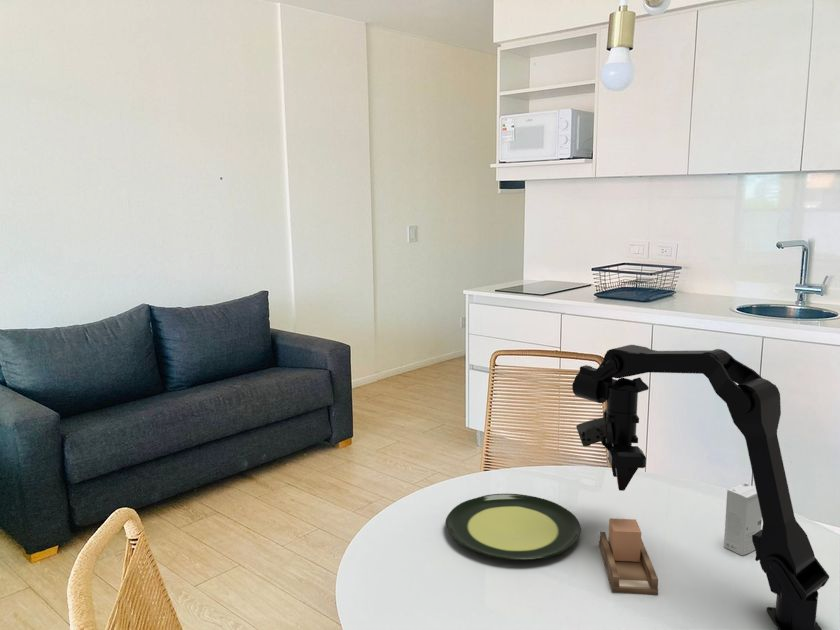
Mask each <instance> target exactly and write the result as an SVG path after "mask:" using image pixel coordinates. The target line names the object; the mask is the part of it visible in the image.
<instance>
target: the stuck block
mask: <svg viewBox="0 0 840 630" xmlns="http://www.w3.org/2000/svg"><path fill="white" fill-rule="evenodd" d="M641 539H642V531H641V528H640V526H639V523H638V521H637V519H635V518H634V519H633V518H632V519H631V518H613V517H612V518H609V523H608V541H609V546H610V549H611V552H612V555H613V559H614V561H632V562H640V550H641Z"/></svg>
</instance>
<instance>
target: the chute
mask: <svg viewBox="0 0 840 630" xmlns="http://www.w3.org/2000/svg"><path fill="white" fill-rule="evenodd" d="M598 548H599V550H600V555H601V557H602V561H603V564H604V568H605V572H606V576H607V579H608V581H609V585H610V588H611V592H612V593H616V594H617V593H620V594H636V595H637V594H638V595H654V596H655V595H656V596H659V577H658V574H657V573H656V570H655V568H654V566H653V562H652V561H651V559H650V556H649V554H648V551H647V548H646V546H645V544H644V541H643V539H642V538H641V550H640V562H632V561H614V559H613V555H612V552H611V549H610V546H609V539H608V536H607V533H606V532H605V531H600V532H599V541H598Z"/></svg>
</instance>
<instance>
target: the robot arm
mask: <svg viewBox="0 0 840 630" xmlns="http://www.w3.org/2000/svg"><path fill="white" fill-rule="evenodd" d="M647 373H652V374H653V373H655V374H656V373H658V374H659V373H660V374H661V373H663V374H695V375H696V374H703V375H704V376H705V377H706V378H707V380H708V381H709V383H710V385H711V387H712V388H713V391H714V392H715V394H716V395H717V396H718V397H719V398H720V399H721V400H722V401H723V402H724V403H726V407H727V409H728V412H729V414H730V417H731V420H732V422H733V424H734V425H735V426H736V428H737V430H739V431H740V433H741V434H742V435H743V437H744V439H745V444H746V448H747V453H748V459H749V463H750V466H751V467H750V468H751V472H752V477H753V481H754V487H756V492H757V496H758V501H759V506H760V511H761V515H762V525H761V530H760V531H759V532H757V533H755V534H754V535H752V541H753V544H754V547H755V550H754V551H755V559H754V560H755V561H756V562H758V561H759V565H760V568H761V569H762V571H763V573H764V574H765V575H766V579H767V582H768V586H769V589H770V592H771V593H773V594H775V595H776V600H775V606H773V607H771V606H767V607H766V612H767V614H768V615H769V617H770V618H771V619H772V621H773V623H774V625H775V626H776V627H777V629H778V630H823V629H822V628H821V626H820V625H819V623H818V622H817V613H818V612H817V610H818V601H819V600H818V599H819V592H818V591H819V590H820V589H822V588H823V587H824V586H825V585H826V584H827V582H828V581H829V579H830V575H829V574H828V573H827V571H826V570H825V568H824V567H823V565H821V563H820V562H819V560H818V559H817V558H816V556H815V552H814V549H813V548H812V547H813V546H812V544H811V542H810V539H809V537H808V534H807V532H806V531H805V530H804V529H803V528H802V526H801V525H800V524H799V522H798V521H797V520H796V517H795V512H794V508H793V504H792V499H791V494H790V489H789V485H788V481H787V475H786V471H785V466H784V461H783V456H782V452H781V448H780V442H779V437H778V428H779V424H780V418H781V414H782V412H781V411H782V410H781V409H782V408H781V393H780V391H779V388H778V386H777V385H776V384H774V383H773V382H771V381H770V380H769V379H765V378H763V377H762V376H761V375H760V374H759V373H758V372H757V371H755V369H753V368H750V367H749V366H747V365H745V364H744V363H742V362H740V361H739V360H737V359H735V358H734V357H733V356H732V355H731V354H730V353H729V352H727V351H726V350H724V349H720V348H715V349H712V350H656V349H655V350H654V349H651V348H649V347H647V346H642V345H636V344H628V345H623V346H619V347H615V348H610V349H608V350H607V351H606V353H604V356H603V361H602V362H601V363H600V365H599V366H598V367H597V368H595V367H592V366H590V365H587V364H585V365H581V366H580V367H579V372H578V373H577V374H576V376H574V377H575V378H574V380H573V383H572V385H571V388H572V393H573V394H574V396H575V397H578V398H581V399H583V400H587V401H591V402H595V403H597V404H604V403H606V409H604V411H603V412H602V414H603V415H602V417H600V418H599V417H598V418H594V419H591V420H588V421H584V422H581V423H578V424H577V425H576V426H575V427H576V431H577V434H578V435H579V439H580V442H581V445H582V446H583V447H589V446H591V445H594V444H597V443H600V442H601V444H602V446H603V447H604V448H605V449H606V450H607V451H608V457H607V460H608V462H609V464H610V466H611V471H612V476H613V478H616V481H617V482H616V483H617V486H618V487H617V489H618V491H619V492H620V491H621V492H622V491H623V492H624V491H625V490H626V489H627V487H628V485H629V484H630V482H631V480H632V479H633V477H634V475H635V473H637V471H638V470H639V469H644V468H646V465H647V457H646V455H645V453H644V451H643V450H642V448H640V447H639V446H637V445H633V444H638V443H639V437H638V435H637V424H640V417H639V416H638V400H639V399H638V397H639V393H642V392H644V391H645V392H646V391H648V390H649V388H650V387H649V385H647V383H645V382H644V380H643V379H642V377H637V378H633V379H630V378H627V377H633V376H636V375H642V374H647Z"/></svg>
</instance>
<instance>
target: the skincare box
mask: <svg viewBox="0 0 840 630" xmlns="http://www.w3.org/2000/svg"><path fill="white" fill-rule="evenodd" d="M725 508H726V509H725V521H724V522H725V523H724V537H723V538H724V539H723V547H724V548H726V549H727V550H729V551H731V552H734V553H736V554H737V555H740V556H746V555H747V554H750V553H753V552H755V551H756V550H755V547H754V544H753V541H752V535H754V534H755V533H757V532H759V531H760V530H762V522H763V520H762V515H761V511H760V506H759V501H758V496H757V492H756V487H755V486H754V485H750V484H746V483H742V484H740V485H735V486H734V487H732V488H729V489H727V490H726V506H725Z"/></svg>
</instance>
